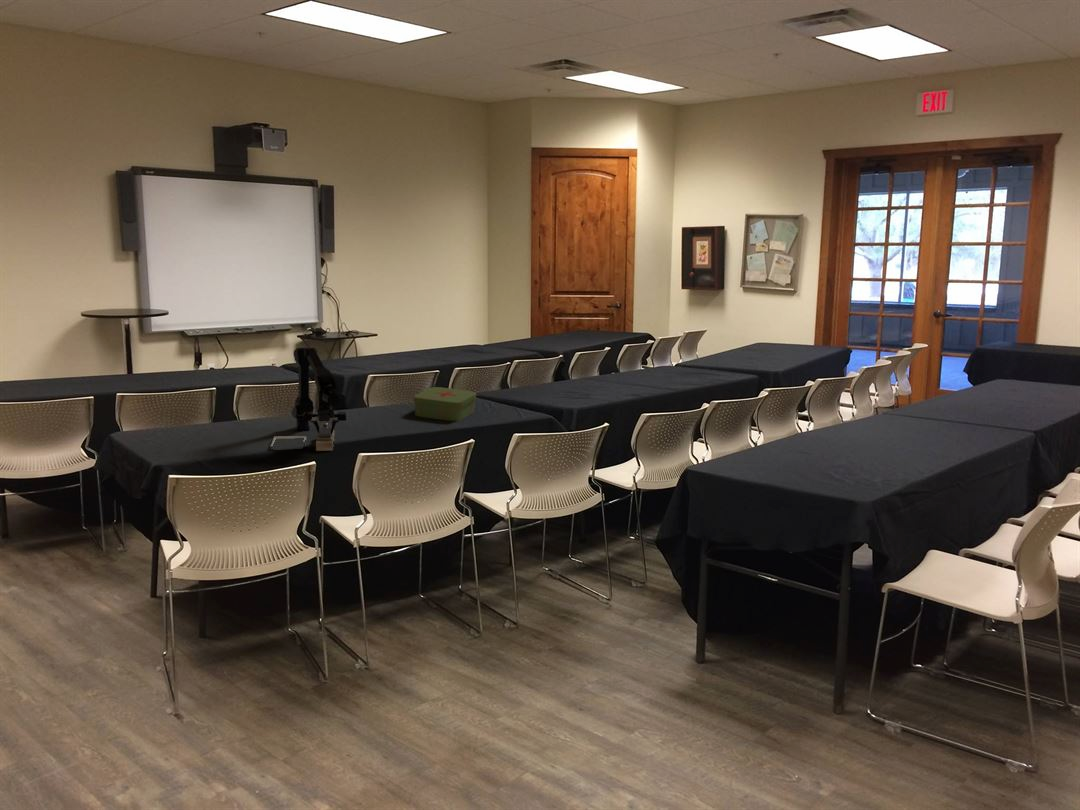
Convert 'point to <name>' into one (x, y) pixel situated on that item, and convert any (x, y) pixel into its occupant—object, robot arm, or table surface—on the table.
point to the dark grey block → (325, 430)
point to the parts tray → (287, 438)
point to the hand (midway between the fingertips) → (325, 434)
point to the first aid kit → (444, 403)
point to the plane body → (325, 443)
